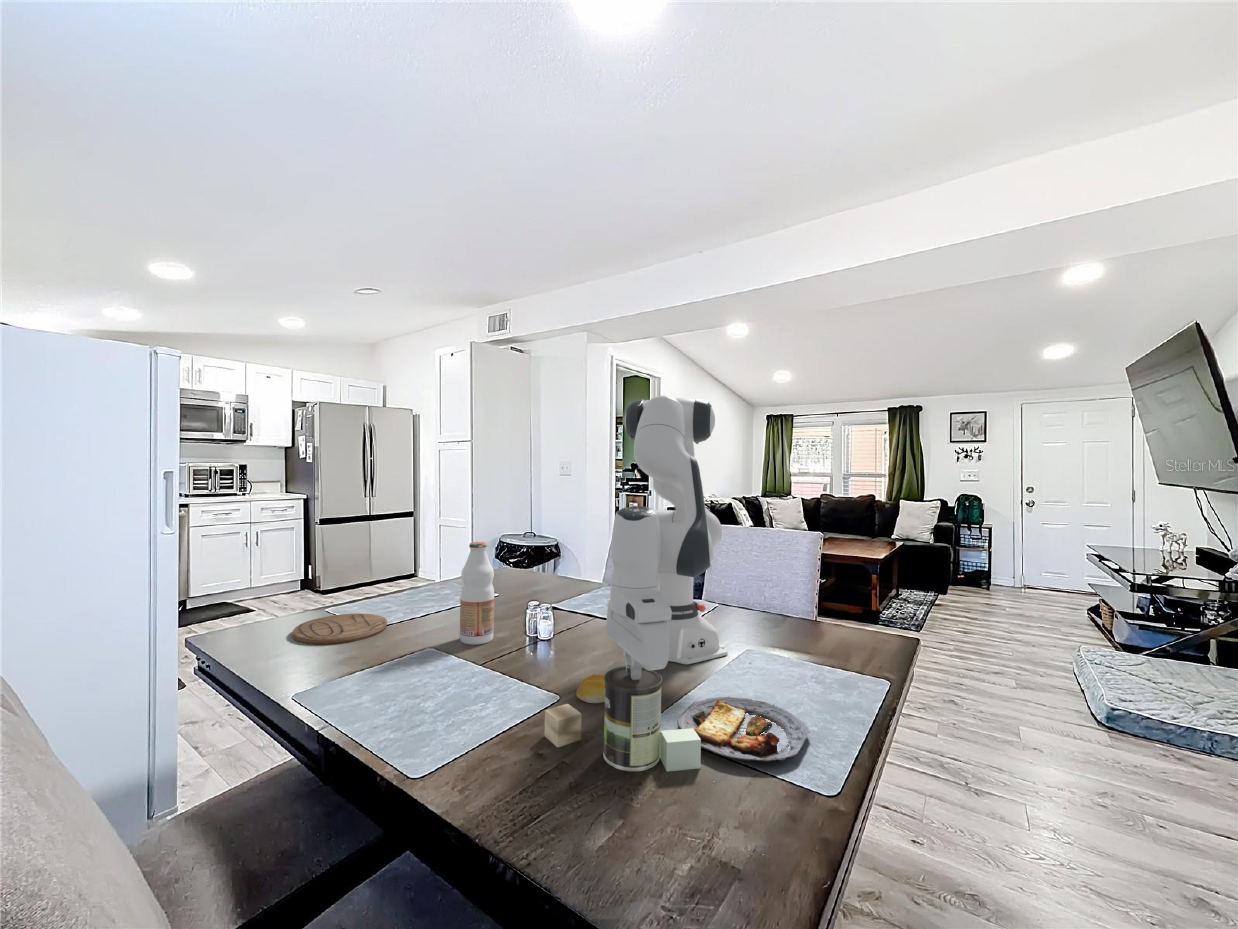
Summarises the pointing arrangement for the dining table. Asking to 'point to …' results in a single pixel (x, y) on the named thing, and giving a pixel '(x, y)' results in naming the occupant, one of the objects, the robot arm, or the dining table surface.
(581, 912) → the dining table surface
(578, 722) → the maple block
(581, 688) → the bread roll
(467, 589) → the fruit juice
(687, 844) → the dining table surface
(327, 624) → the trivet
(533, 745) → the dining table surface
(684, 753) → the pale green block
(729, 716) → the food plate
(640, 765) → the coffee can
